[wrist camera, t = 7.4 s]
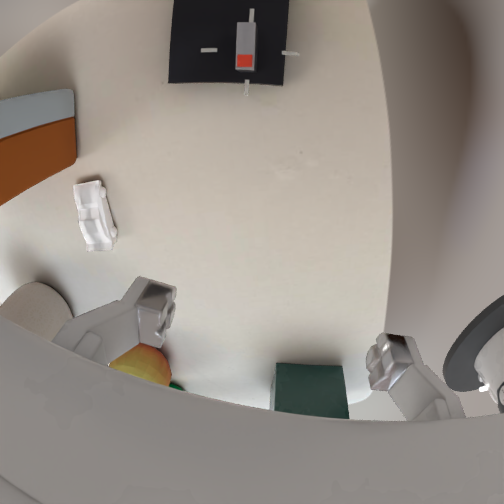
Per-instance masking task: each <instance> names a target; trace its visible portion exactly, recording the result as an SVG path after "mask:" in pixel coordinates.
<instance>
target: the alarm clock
mask: <svg viewBox="0 0 504 504" xmlns="http://www.w3.org/2000/svg"><path fill="white" fill-rule="evenodd" d="M73 116H74V93H73V91H72V90H70V89H60V90H53V91H46V92H40V93H34V94H28V95H23V96H18V97H13V98H9V99H4V100H0V206H1V205H3V204H4V203H6V202H7V201H9V200H11V199H12V198H14V197H15V196H17V195H19V194H20V193H22V192H23V191H25V190H27V189H29V188H30V187H32V186H34V185H36V184H38V183H39V182H41V181H43V180H45V179H47V178H48V177H50V176H52V175H54V174H56V173H58V172H60V171H62V170H63V169H65V168H67V167H69V166H71V165H73V164H74V163H75V161H76V158H77V152H76V138H75V118H73Z"/></svg>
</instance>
